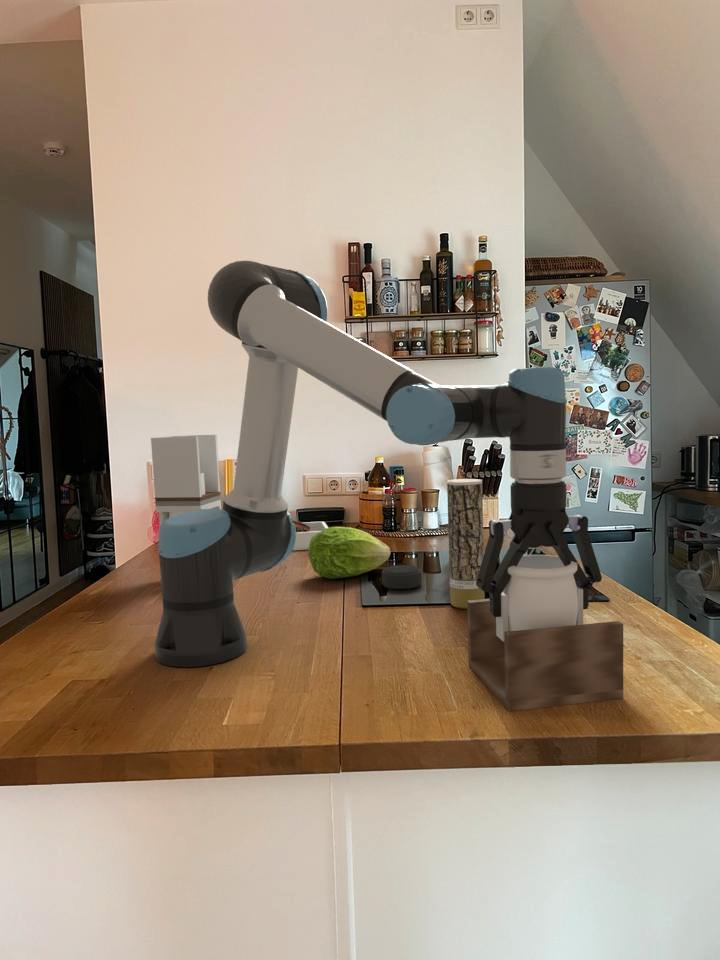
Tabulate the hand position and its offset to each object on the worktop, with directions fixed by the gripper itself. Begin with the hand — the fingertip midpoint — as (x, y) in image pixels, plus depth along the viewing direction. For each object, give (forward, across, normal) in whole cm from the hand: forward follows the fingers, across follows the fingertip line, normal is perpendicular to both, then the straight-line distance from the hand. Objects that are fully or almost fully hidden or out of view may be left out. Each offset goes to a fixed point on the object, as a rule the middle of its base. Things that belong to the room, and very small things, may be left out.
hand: (539, 634), depth 97 cm
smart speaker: (+7, -7, +58) cm, 59 cm away
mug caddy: (+7, -25, +115) cm, 118 cm away
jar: (+5, 0, 0) cm, 5 cm away
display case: (+7, -54, +77) cm, 94 cm away
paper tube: (+7, +2, +39) cm, 40 cm away
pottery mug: (+7, -27, +115) cm, 118 cm away
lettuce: (+7, -16, +72) cm, 74 cm away
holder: (+7, 0, 0) cm, 7 cm away
